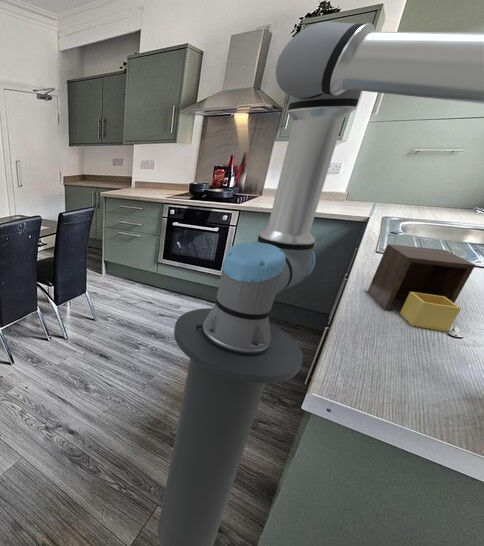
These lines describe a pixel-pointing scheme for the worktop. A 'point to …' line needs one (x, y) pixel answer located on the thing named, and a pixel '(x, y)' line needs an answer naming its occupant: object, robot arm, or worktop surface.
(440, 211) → the worktop surface
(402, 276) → the shelf
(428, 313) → the basket
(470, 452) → the worktop surface
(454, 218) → the worktop surface
